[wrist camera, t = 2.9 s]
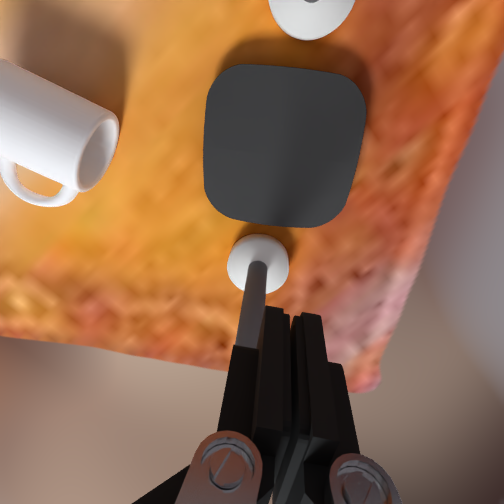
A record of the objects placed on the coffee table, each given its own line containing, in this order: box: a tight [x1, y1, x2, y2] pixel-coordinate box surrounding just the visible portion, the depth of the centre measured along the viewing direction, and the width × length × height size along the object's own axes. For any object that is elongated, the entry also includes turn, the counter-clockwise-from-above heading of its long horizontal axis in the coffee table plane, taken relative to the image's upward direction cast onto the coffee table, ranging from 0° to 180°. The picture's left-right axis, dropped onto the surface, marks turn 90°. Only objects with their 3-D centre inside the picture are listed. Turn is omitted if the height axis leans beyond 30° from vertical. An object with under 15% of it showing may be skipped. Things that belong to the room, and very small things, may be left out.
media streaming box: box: [203, 64, 366, 228], centre depth 33 cm, size 15×15×3 cm
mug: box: [0, 59, 119, 207], centre depth 32 cm, size 12×10×8 cm
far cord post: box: [227, 234, 289, 349], centre depth 32 cm, size 7×7×20 cm
